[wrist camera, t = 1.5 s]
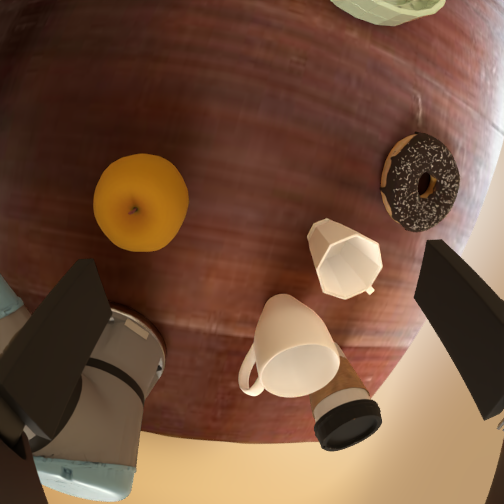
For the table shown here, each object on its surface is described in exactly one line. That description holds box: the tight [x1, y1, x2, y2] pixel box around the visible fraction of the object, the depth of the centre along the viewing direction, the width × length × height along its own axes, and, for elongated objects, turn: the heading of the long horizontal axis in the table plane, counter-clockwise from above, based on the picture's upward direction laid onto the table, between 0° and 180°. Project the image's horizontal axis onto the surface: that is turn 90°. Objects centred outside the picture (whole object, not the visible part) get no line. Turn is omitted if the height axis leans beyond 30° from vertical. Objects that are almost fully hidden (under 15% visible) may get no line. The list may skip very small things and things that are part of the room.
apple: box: [93, 153, 189, 252], centre depth 26 cm, size 9×9×9 cm
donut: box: [380, 132, 460, 232], centre depth 31 cm, size 11×12×4 cm
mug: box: [238, 294, 340, 397], centre depth 34 cm, size 12×8×11 cm
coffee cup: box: [309, 342, 382, 451], centre depth 36 cm, size 8×8×15 cm
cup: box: [307, 218, 383, 300], centre depth 32 cm, size 7×10×8 cm
